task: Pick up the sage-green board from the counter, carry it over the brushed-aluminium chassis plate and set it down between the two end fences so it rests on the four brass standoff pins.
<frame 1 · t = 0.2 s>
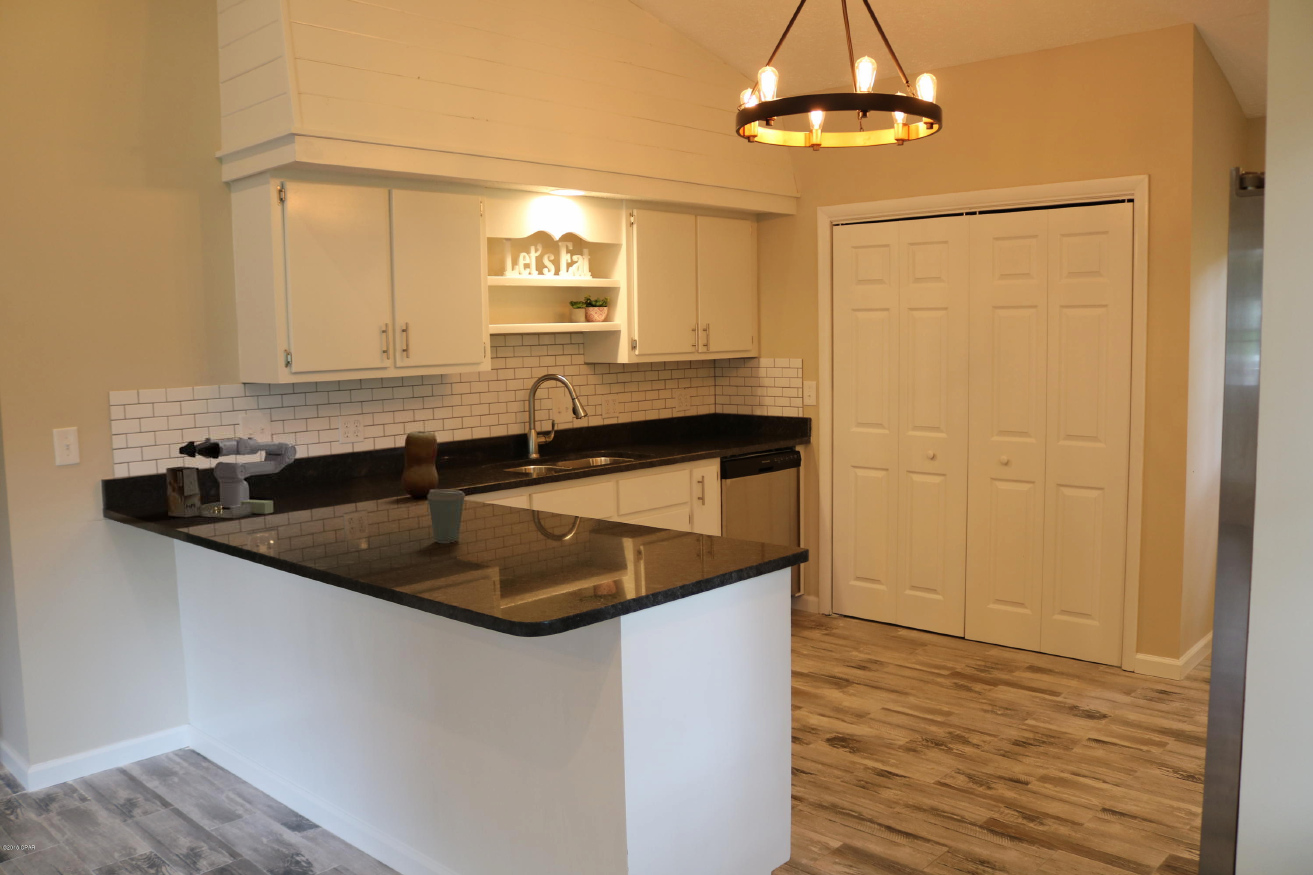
hand: (189, 451, 336), 21 cm above the countertop, tool horizontal, fingers open, 7 cm apart
butternut squash: (420, 498, 378), on the countertop
coffee box: (184, 515, 336), on the countertop
chassis: (226, 515, 336), on the countertop
board: (257, 512, 343), on the countertop
disposable coffee cup: (447, 542, 288), on the countertop
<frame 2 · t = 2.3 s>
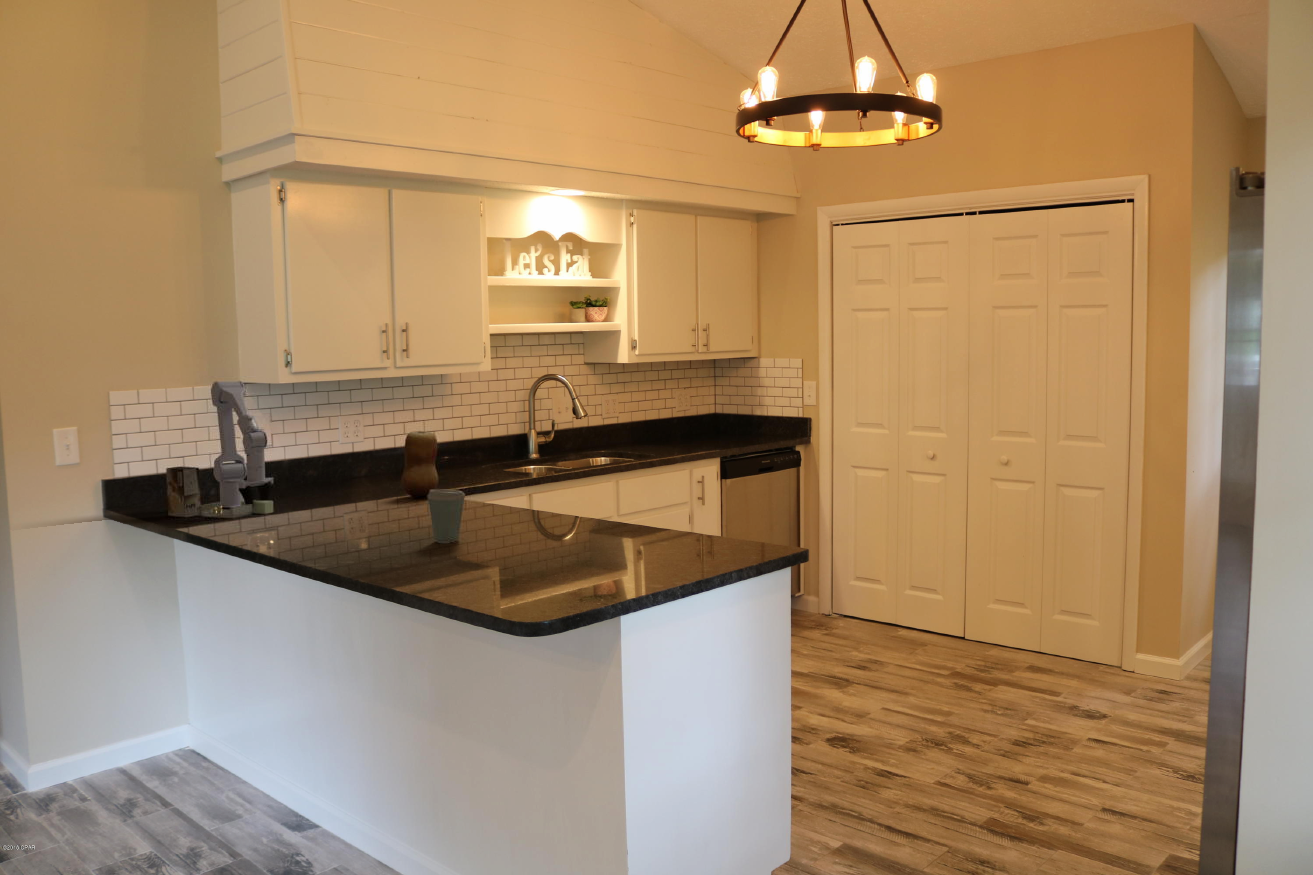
hand: (257, 506, 343), 2 cm above the countertop, tool pointing down, fingers open, 7 cm apart
nothing on the countertop moved.
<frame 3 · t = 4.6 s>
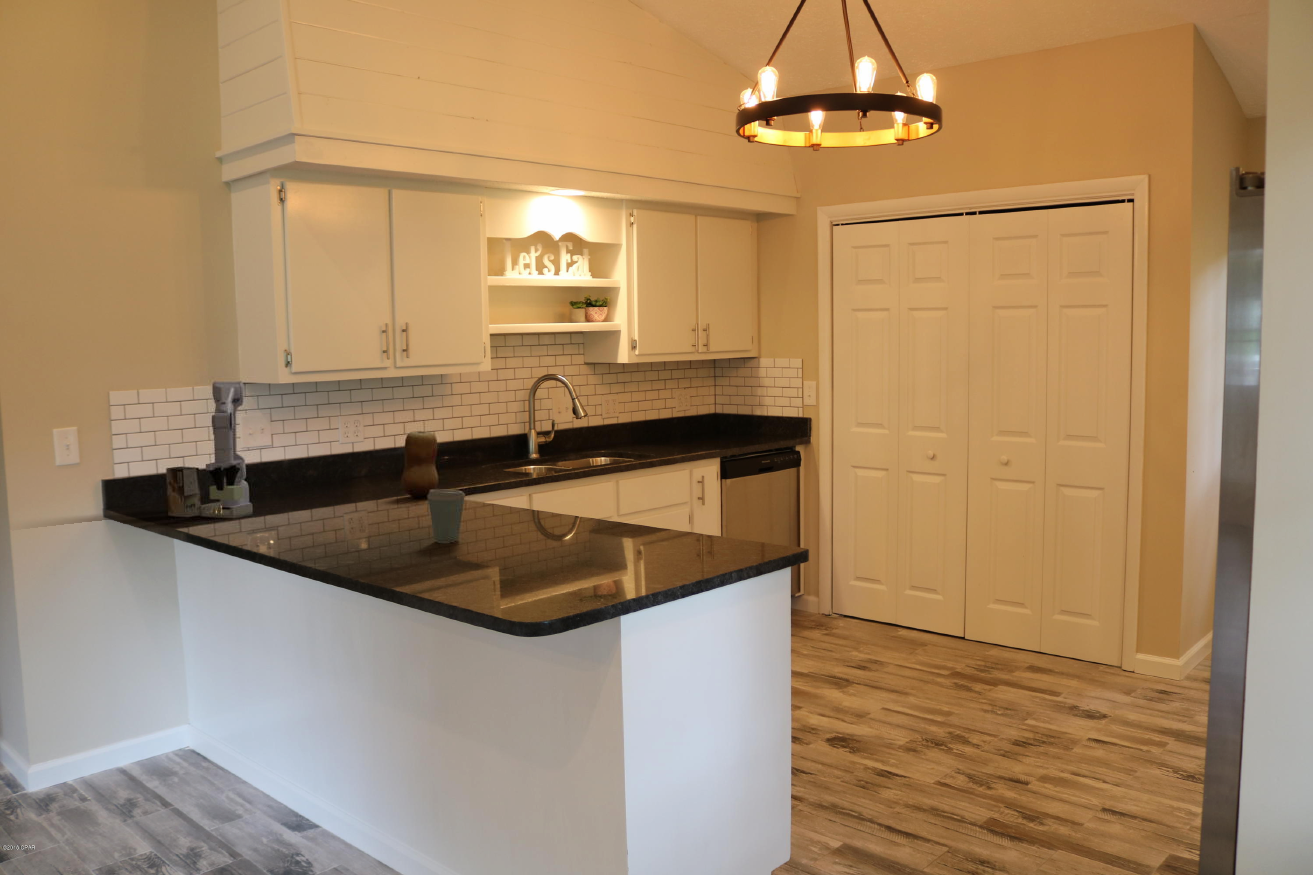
hand: (225, 489, 335), 9 cm above the countertop, tool pointing down, fingers closed on board, 4 cm apart
board: (226, 498, 335), point 6 cm above the countertop, touching gripper
everything else where it was.
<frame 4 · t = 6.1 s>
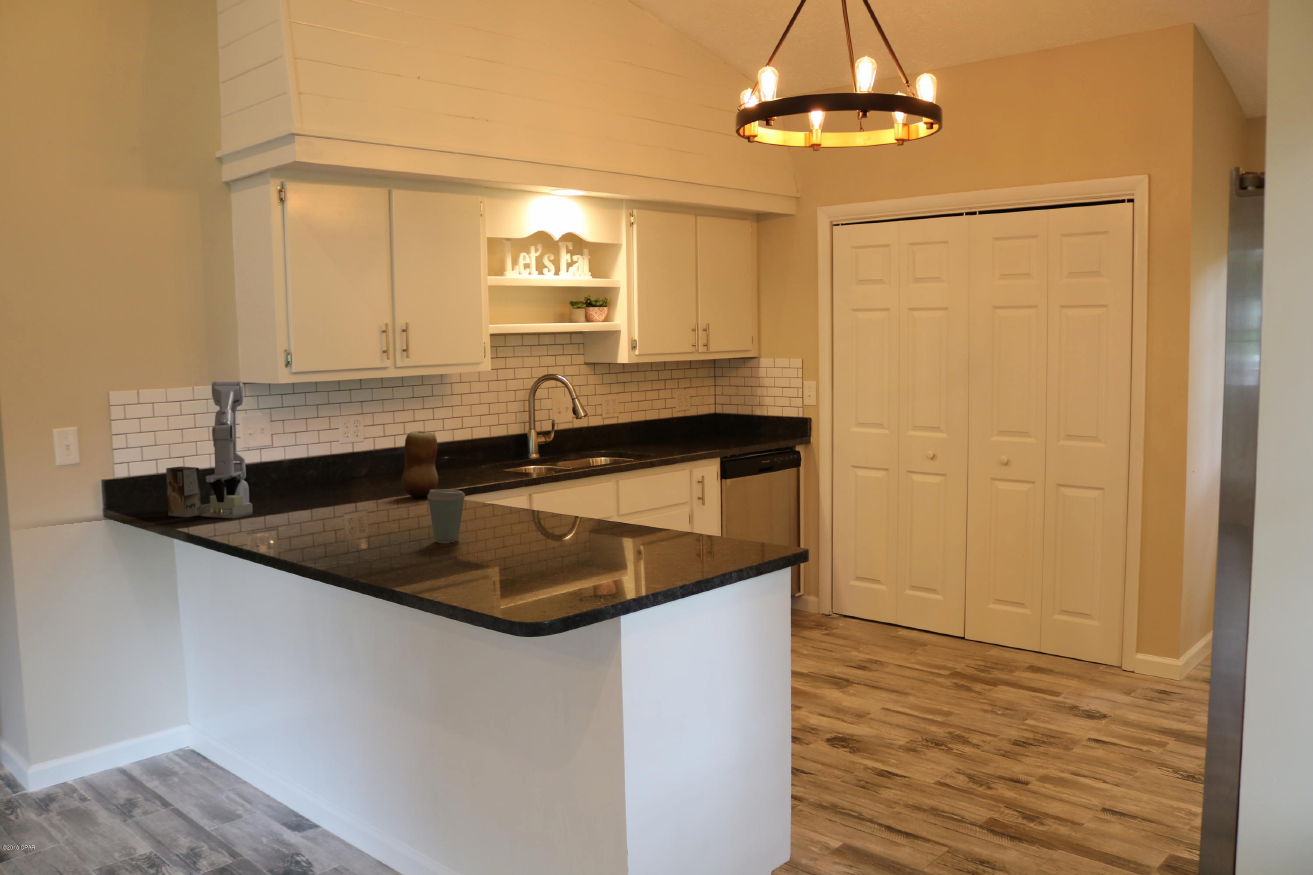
hand: (225, 501, 336), 5 cm above the countertop, tool pointing down, fingers closed on board, 4 cm apart
board: (226, 507, 336), point 2 cm above the countertop, touching chassis, gripper
everything else where it was.
when the fingers open (5 cm above the countertop, at t = 6.1 s): board stays where it is, resting on chassis.
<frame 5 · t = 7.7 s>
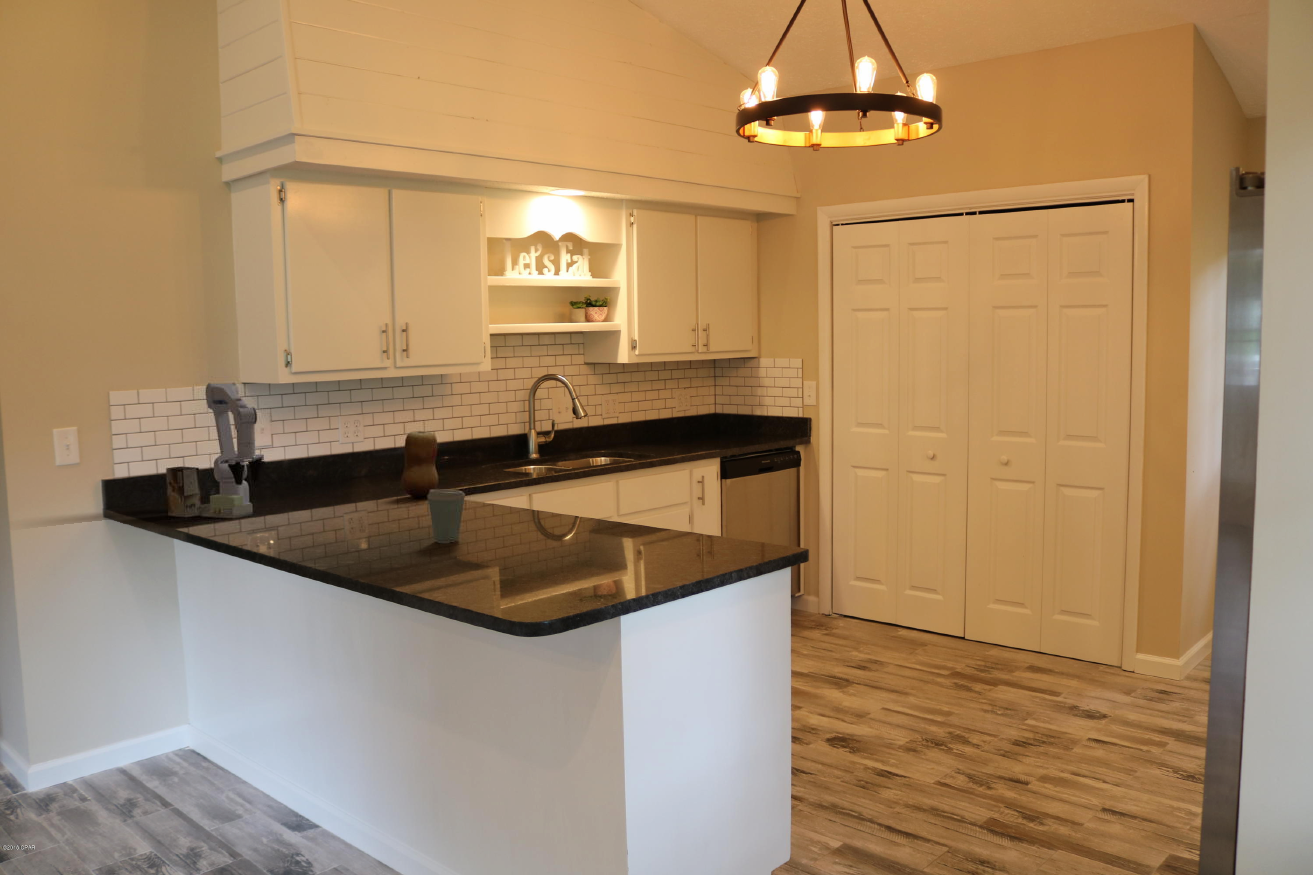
hand: (247, 483, 342), 10 cm above the countertop, tool pointing down, fingers open, 7 cm apart
board: (226, 507, 336), point 2 cm above the countertop, touching chassis
everything else where it was.
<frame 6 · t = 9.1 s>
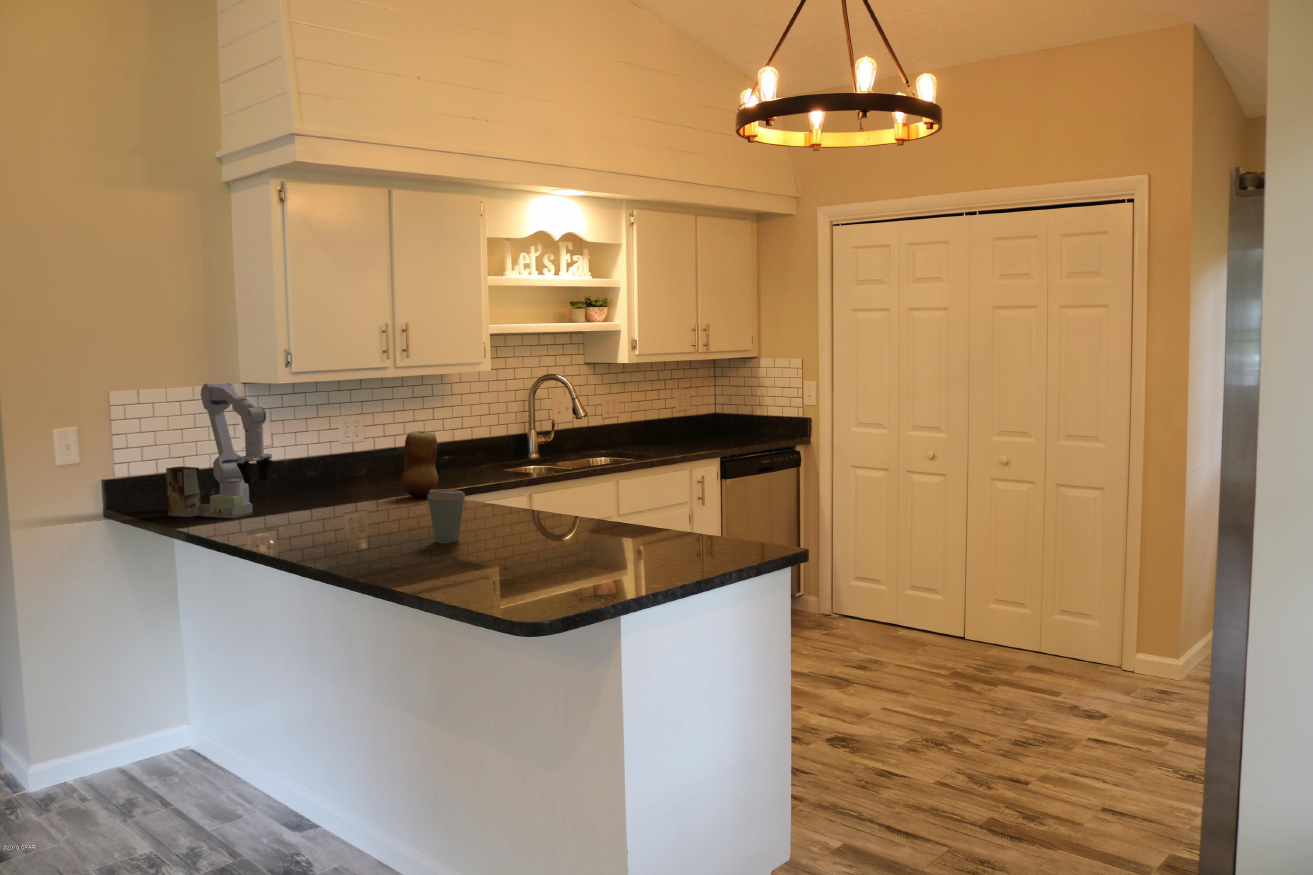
hand: (255, 482, 345), 10 cm above the countertop, tool pointing down, fingers open, 7 cm apart
nothing on the countertop moved.
at the end: board 0.4 cm off-centre on the chassis, point 2.5 cm above the chassis's base; board tilted 0°; the gripper is holding nothing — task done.
